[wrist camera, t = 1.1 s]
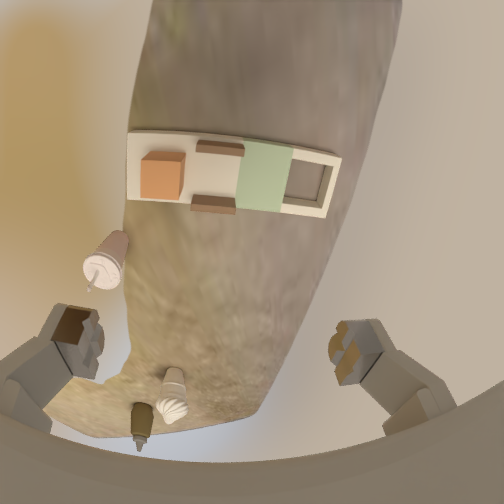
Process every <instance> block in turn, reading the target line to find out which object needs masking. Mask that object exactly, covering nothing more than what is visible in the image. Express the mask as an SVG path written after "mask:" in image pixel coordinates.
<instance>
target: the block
mask: <svg viewBox="0 0 504 504" xmlns="http://www.w3.org/2000/svg"><path fill="white" fill-rule="evenodd" d="M185 159H186V153H181V152H163V151H150V152H149V153H148V154H147V155H146V156H145V157H143V158H142V159H141V174H140V198H150V199H166V200H179V197H180V195H181V192H182V189H183V185H184V171H185Z"/></svg>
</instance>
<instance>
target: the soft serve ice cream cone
mask: <svg viewBox="0 0 504 504" xmlns="http://www.w3.org/2000/svg"><path fill="white" fill-rule="evenodd" d="M156 408H157V409H158V411H159V412H160V413H161V414H162V415H163V419H164V421H165V422H166V423H167V424H171V423H173V422H174V421H175V420H177V419H179V418H181V417H183V416H184V415H186V414H187V413H188V412H187V411H189V408H188V404H187V399H186V387H185V383H184V377H183V372H182V370H181V369H179V368H175V367H171V368H168V369H167V372H166V374H165V377H164V380H163V383H162V385H161V390H160V395H159V398H158V399H157V401H156Z"/></svg>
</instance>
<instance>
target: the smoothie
mask: <svg viewBox="0 0 504 504" xmlns="http://www.w3.org/2000/svg"><path fill="white" fill-rule="evenodd" d="M128 243H129V239H128V236H127V235H126V234H125V233H124V232H122V231H119V230H116V231H113V232H112V233H111V234H110V235H109V236H108V237H107V238H106V239H105V240H104V241H103V243H102V244H101V245H100V246H99V247H98V248H97V249H96V250H95V251H94V252H93V253H91V254H90V255H88V256H87V258H86V260H85V262H84V264H83V271H84V274H85V276H86V278H87V279H88V280H89V281H90V284H89V286H88V288H87V291H88V292H90V291H91V289H92V286H93V285H95V286H96V287H99V288H101V289H112V288H114V287H116V286H117V285H118V284H119V282H120V280H121V278H122V266H123V262H124V258H125V254H126V251H127V247H128Z"/></svg>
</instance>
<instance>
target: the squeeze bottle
mask: <svg viewBox="0 0 504 504" xmlns="http://www.w3.org/2000/svg"><path fill="white" fill-rule="evenodd" d="M153 418H154V416H153V412H152V408H151V406H149V405H147V404H144V403H136V404H135V406H134V407H133V409H132V411H131V434H132V435H133V441H135V442H136V445H137V451H139V452H140V451H141V449H142V446H143V444H145V443H147V438H149V437H150V433H151V428H152V423H153Z"/></svg>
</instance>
